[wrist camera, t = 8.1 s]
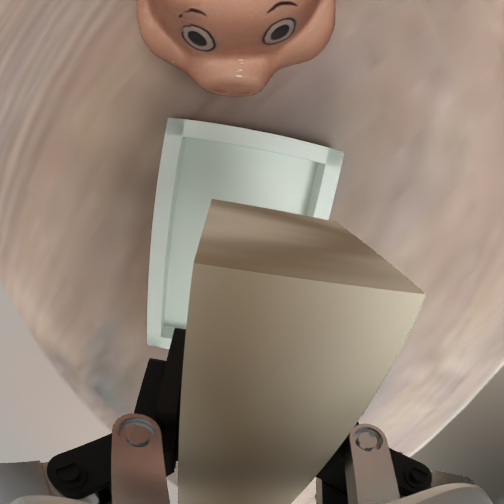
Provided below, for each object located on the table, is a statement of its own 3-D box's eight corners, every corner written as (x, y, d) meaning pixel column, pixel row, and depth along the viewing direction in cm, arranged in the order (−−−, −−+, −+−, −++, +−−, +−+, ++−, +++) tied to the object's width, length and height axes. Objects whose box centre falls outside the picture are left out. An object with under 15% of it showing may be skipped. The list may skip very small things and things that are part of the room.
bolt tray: (281, 346, 28) (285, 362, 25) (152, 329, 26) (147, 345, 23) (332, 151, 22) (344, 152, 19) (174, 120, 20) (167, 117, 18)
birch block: (336, 221, 9) (426, 294, 5) (259, 443, 13) (270, 522, 8) (211, 198, 9) (193, 263, 4) (184, 437, 13) (178, 519, 8)
